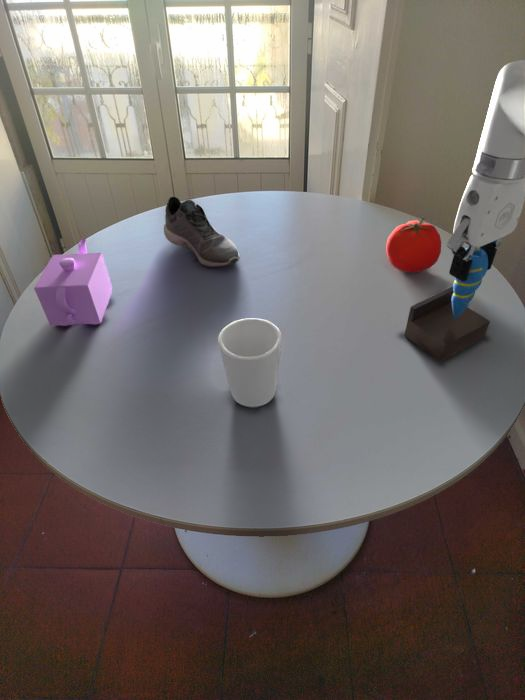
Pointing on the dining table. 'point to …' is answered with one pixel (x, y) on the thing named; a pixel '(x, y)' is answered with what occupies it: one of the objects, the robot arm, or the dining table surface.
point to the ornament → (469, 282)
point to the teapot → (75, 288)
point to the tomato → (413, 246)
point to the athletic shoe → (197, 234)
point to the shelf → (443, 326)
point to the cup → (251, 360)
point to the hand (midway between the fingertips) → (469, 270)
